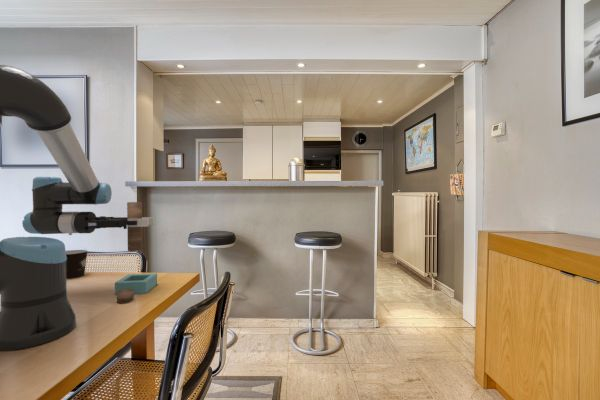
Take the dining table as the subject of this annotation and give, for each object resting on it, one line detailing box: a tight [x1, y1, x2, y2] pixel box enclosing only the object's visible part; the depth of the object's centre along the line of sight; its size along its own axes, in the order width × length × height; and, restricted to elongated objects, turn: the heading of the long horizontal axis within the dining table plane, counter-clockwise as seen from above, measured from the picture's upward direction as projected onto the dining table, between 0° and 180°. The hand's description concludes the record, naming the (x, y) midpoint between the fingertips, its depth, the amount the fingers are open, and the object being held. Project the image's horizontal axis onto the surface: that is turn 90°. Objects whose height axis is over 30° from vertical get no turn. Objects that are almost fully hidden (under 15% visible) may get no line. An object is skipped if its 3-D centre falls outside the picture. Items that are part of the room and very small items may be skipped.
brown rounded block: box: [116, 289, 135, 304], centre depth 90 cm, size 4×4×3 cm
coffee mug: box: [66, 249, 88, 279], centre depth 115 cm, size 12×9×10 cm
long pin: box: [126, 201, 143, 252], centre depth 100 cm, size 4×4×17 cm
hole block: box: [114, 273, 158, 296], centre depth 101 cm, size 10×10×4 cm
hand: (150, 221), depth 101 cm, fingers closed on long pin, 4 cm apart
